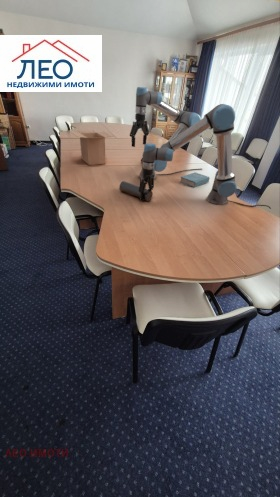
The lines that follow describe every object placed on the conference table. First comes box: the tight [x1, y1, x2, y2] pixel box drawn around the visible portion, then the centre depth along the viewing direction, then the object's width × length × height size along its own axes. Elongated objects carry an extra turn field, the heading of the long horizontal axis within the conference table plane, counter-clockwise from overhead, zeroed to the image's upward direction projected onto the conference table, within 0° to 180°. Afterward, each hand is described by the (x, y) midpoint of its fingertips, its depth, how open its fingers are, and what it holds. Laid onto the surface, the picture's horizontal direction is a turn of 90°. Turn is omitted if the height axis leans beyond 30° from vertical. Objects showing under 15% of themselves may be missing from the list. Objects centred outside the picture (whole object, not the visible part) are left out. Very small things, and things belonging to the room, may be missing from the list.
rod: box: [119, 180, 154, 202], centre depth 168 cm, size 27×8×8 cm, turn 51°
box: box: [70, 129, 114, 166], centre depth 229 cm, size 44×36×27 cm
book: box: [179, 171, 210, 188], centre depth 200 cm, size 23×16×5 cm
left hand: (138, 145), depth 171 cm, fingers open, 13 cm apart
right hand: (145, 199), depth 165 cm, fingers closed on rod, 8 cm apart
